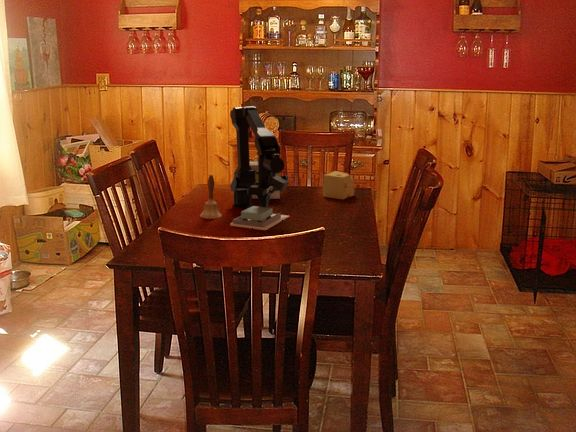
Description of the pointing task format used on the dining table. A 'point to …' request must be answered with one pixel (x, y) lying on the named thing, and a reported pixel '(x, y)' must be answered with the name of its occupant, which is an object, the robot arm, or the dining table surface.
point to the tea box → (255, 167)
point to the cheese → (338, 185)
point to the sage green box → (257, 213)
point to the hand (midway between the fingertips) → (265, 209)
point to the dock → (259, 225)
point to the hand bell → (210, 203)
